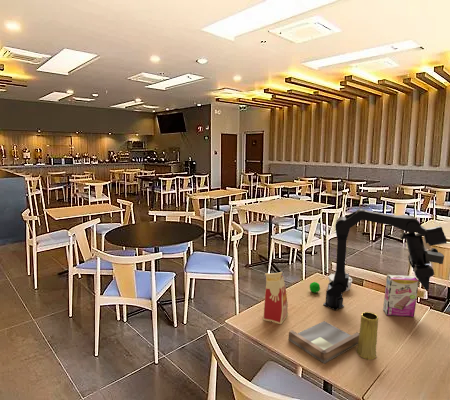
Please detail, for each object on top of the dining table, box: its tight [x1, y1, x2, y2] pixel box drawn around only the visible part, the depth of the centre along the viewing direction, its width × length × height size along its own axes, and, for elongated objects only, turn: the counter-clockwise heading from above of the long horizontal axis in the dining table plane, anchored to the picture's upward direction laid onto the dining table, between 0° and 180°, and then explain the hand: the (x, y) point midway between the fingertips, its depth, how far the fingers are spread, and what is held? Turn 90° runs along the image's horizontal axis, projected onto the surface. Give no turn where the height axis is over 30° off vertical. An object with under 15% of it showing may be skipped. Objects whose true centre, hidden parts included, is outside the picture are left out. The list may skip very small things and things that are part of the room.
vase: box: [356, 311, 379, 360], centre depth 113 cm, size 6×6×14 cm
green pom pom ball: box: [309, 281, 321, 293], centre depth 160 cm, size 5×5×5 cm
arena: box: [288, 320, 359, 364], centre depth 121 cm, size 16×20×4 cm
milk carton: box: [262, 271, 289, 325], centre depth 136 cm, size 9×9×20 cm
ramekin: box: [328, 273, 353, 292], centre depth 165 cm, size 11×11×5 cm
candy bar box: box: [382, 274, 420, 318], centre depth 139 cm, size 11×5×16 cm, turn 84°
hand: (424, 284), depth 133 cm, fingers open, 9 cm apart
